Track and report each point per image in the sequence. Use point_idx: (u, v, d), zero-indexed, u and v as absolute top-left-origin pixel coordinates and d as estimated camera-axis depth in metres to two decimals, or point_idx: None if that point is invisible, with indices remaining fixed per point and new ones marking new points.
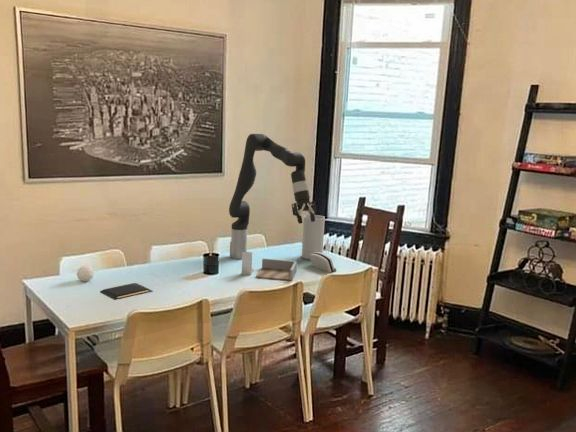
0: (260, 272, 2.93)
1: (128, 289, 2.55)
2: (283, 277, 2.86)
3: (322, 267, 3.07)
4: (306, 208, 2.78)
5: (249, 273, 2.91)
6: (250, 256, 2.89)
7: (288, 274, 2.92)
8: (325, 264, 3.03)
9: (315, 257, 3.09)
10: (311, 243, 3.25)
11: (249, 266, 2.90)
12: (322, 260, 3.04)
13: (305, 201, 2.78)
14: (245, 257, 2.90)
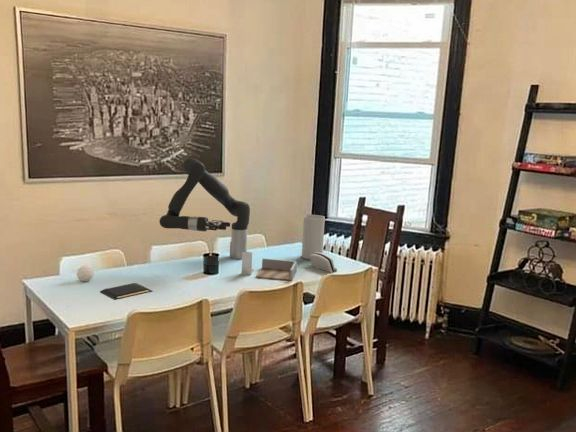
0: (260, 272, 2.93)
1: (128, 289, 2.55)
2: (283, 277, 2.86)
3: (323, 267, 3.07)
4: None
5: (249, 273, 2.91)
6: (250, 256, 2.89)
7: (288, 274, 2.92)
8: (326, 264, 3.03)
9: (315, 257, 3.08)
10: (311, 243, 3.25)
11: (249, 266, 2.90)
12: (323, 260, 3.04)
13: None
14: (245, 257, 2.90)
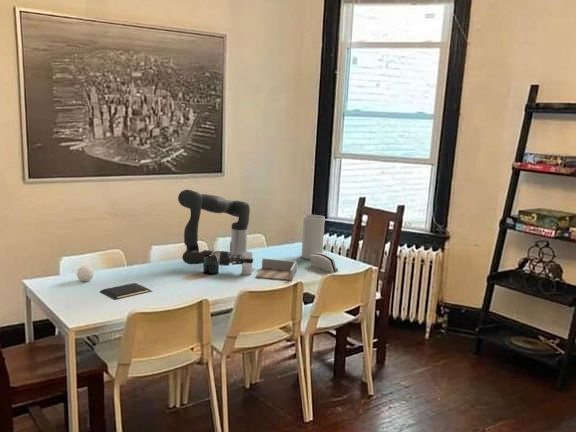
0: (260, 272, 2.93)
1: (128, 289, 2.55)
2: (283, 277, 2.86)
3: (324, 267, 3.07)
4: None
5: (249, 273, 2.91)
6: (250, 256, 2.89)
7: (288, 274, 2.92)
8: (327, 264, 3.03)
9: (316, 258, 3.08)
10: (311, 243, 3.25)
11: (249, 266, 2.90)
12: (324, 260, 3.03)
13: None
14: (245, 257, 2.90)
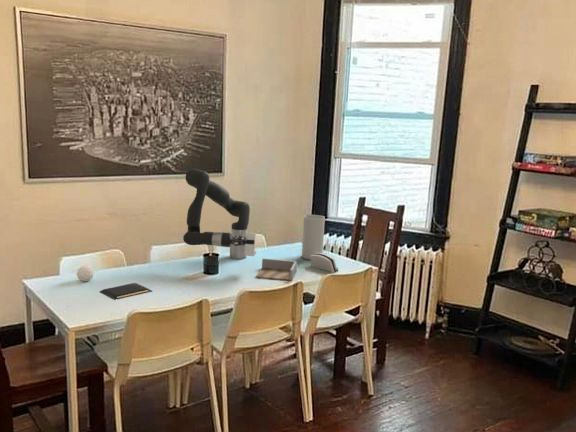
0: (260, 272, 2.93)
1: (128, 289, 2.55)
2: (283, 277, 2.86)
3: (324, 267, 3.06)
4: None
5: (252, 255, 2.89)
6: (254, 237, 2.87)
7: (288, 274, 2.92)
8: (328, 264, 3.03)
9: (316, 258, 3.07)
10: (311, 243, 3.25)
11: (252, 247, 2.88)
12: (325, 260, 3.03)
13: None
14: (249, 238, 2.87)
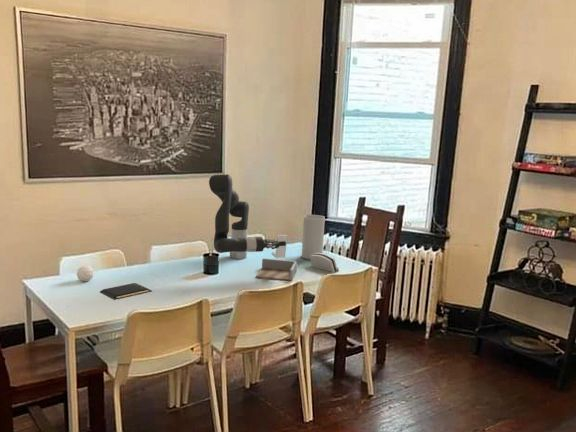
0: (260, 272, 2.93)
1: (128, 289, 2.55)
2: (283, 277, 2.86)
3: (324, 267, 3.06)
4: None
5: (283, 256, 2.89)
6: (285, 239, 2.87)
7: (288, 274, 2.92)
8: (329, 264, 3.03)
9: (317, 258, 3.07)
10: (311, 243, 3.25)
11: (284, 249, 2.88)
12: (325, 260, 3.03)
13: None
14: (280, 240, 2.86)
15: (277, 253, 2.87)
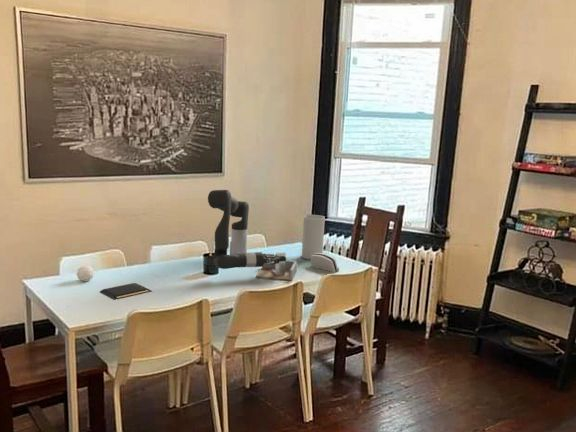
0: (260, 272, 2.93)
1: (128, 289, 2.55)
2: (283, 277, 2.86)
3: (325, 267, 3.06)
4: None
5: (283, 273, 2.90)
6: (284, 256, 2.89)
7: (288, 274, 2.92)
8: (329, 264, 3.03)
9: (317, 258, 3.07)
10: (311, 243, 3.25)
11: (283, 266, 2.90)
12: (326, 261, 3.03)
13: None
14: None
15: (277, 271, 2.89)
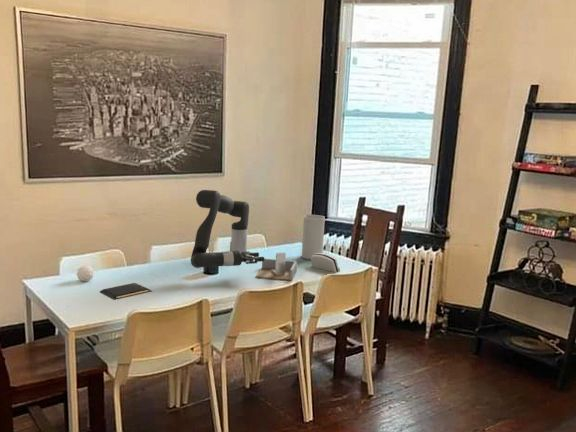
0: (260, 272, 2.93)
1: (128, 289, 2.55)
2: (283, 277, 2.86)
3: (326, 268, 3.06)
4: None
5: (283, 273, 2.90)
6: (284, 256, 2.89)
7: (288, 274, 2.92)
8: (330, 264, 3.03)
9: (318, 258, 3.07)
10: (311, 243, 3.25)
11: (283, 266, 2.90)
12: (327, 261, 3.03)
13: None
14: (279, 258, 2.88)
15: (277, 271, 2.89)
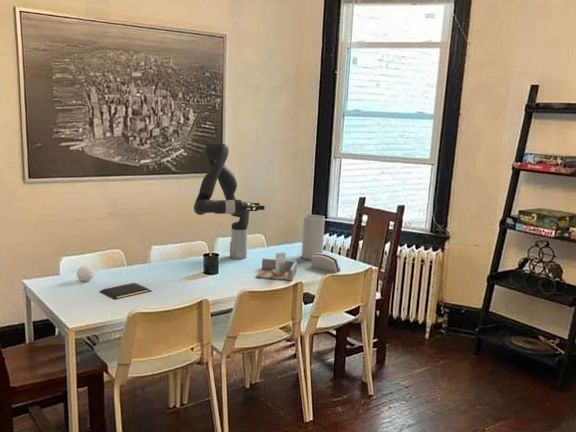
0: (260, 272, 2.93)
1: (128, 289, 2.55)
2: (283, 277, 2.86)
3: (326, 268, 3.06)
4: None
5: (283, 273, 2.90)
6: (284, 256, 2.89)
7: (288, 274, 2.92)
8: (331, 264, 3.03)
9: (318, 258, 3.06)
10: (311, 243, 3.25)
11: (283, 266, 2.90)
12: (328, 261, 3.03)
13: None
14: (279, 258, 2.88)
15: (277, 271, 2.89)
